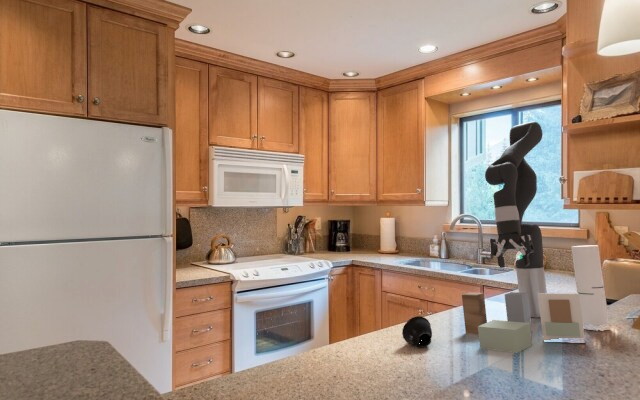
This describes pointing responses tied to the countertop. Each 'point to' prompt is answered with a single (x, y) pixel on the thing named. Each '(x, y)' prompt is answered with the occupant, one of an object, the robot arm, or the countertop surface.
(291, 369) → the countertop surface
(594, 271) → the cylindrical container
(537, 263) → the robot arm
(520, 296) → the slate block
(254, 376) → the countertop surface
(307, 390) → the countertop surface
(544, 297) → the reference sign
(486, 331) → the sage base block
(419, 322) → the small rounded object
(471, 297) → the walnut block
